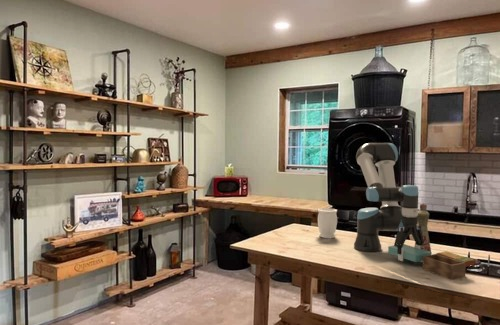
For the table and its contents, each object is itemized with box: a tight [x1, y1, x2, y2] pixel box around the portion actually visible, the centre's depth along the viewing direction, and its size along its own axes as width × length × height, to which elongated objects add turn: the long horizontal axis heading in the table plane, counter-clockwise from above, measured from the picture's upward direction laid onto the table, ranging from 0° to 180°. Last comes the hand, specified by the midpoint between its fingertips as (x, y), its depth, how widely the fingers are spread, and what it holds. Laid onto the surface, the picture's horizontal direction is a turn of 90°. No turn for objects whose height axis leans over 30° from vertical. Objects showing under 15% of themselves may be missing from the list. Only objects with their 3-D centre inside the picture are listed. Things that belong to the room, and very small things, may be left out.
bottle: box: [414, 203, 432, 252], centre depth 198 cm, size 9×9×28 cm
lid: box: [387, 243, 433, 263], centre depth 182 cm, size 17×11×4 cm, turn 25°
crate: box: [422, 253, 467, 281], centre depth 166 cm, size 15×9×7 cm, turn 25°
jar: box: [317, 207, 338, 239], centre depth 238 cm, size 13×12×18 cm
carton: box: [436, 251, 477, 267], centre depth 182 cm, size 8×16×4 cm, turn 22°
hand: (409, 259), depth 182 cm, fingers closed on lid, 11 cm apart
